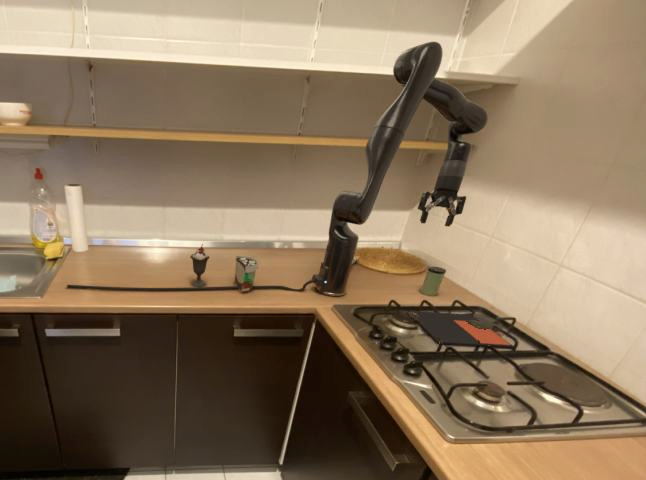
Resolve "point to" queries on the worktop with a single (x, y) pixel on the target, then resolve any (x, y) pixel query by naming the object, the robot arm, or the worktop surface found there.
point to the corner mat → (459, 330)
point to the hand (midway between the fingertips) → (434, 224)
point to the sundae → (199, 265)
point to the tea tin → (433, 281)
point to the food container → (245, 273)
